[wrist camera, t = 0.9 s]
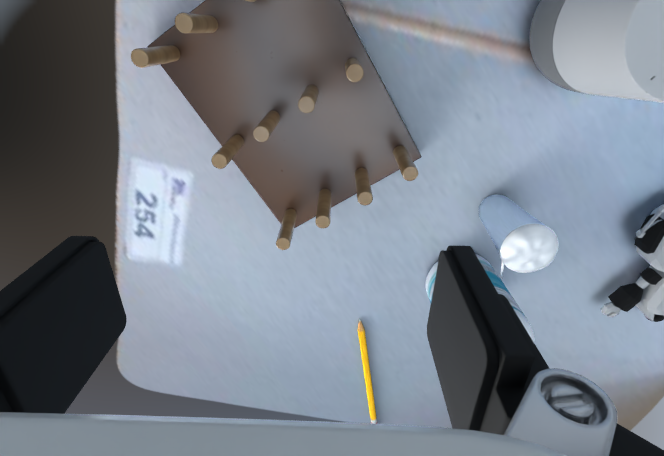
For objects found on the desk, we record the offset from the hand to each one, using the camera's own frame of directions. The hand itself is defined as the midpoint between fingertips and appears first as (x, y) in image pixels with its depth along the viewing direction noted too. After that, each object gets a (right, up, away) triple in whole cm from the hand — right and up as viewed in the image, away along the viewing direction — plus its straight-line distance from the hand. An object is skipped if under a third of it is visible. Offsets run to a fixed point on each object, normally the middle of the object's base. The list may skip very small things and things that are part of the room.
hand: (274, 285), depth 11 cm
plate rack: (-2, +13, +23) cm, 27 cm away
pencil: (+6, -17, +39) cm, 43 cm away
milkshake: (+18, +4, +28) cm, 33 cm away
